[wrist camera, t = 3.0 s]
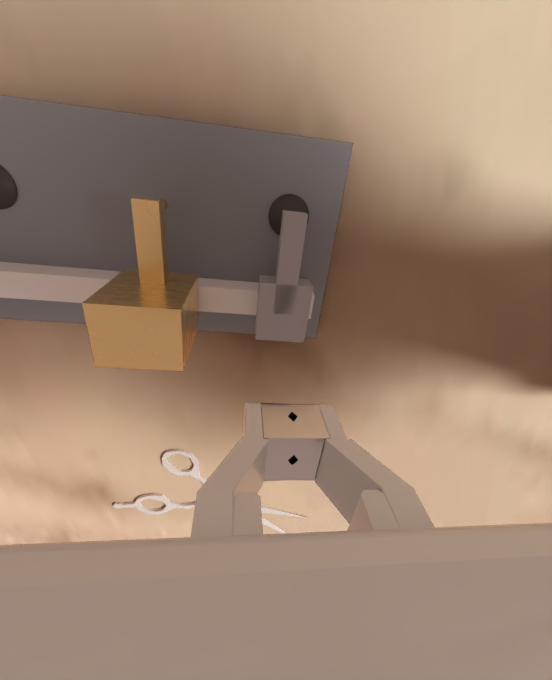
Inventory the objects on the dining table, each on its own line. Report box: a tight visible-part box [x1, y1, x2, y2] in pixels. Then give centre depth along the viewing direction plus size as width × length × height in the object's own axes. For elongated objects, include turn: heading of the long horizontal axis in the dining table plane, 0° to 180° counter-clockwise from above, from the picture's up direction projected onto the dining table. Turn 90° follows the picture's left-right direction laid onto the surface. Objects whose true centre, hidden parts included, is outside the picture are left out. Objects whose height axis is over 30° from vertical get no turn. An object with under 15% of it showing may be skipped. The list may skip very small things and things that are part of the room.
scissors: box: [114, 449, 308, 534], centre depth 33 cm, size 11×1×20 cm
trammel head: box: [82, 196, 199, 371], centre depth 15 cm, size 4×7×6 cm, turn 174°
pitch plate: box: [0, 95, 353, 343], centre depth 17 cm, size 24×12×4 cm, turn 84°
